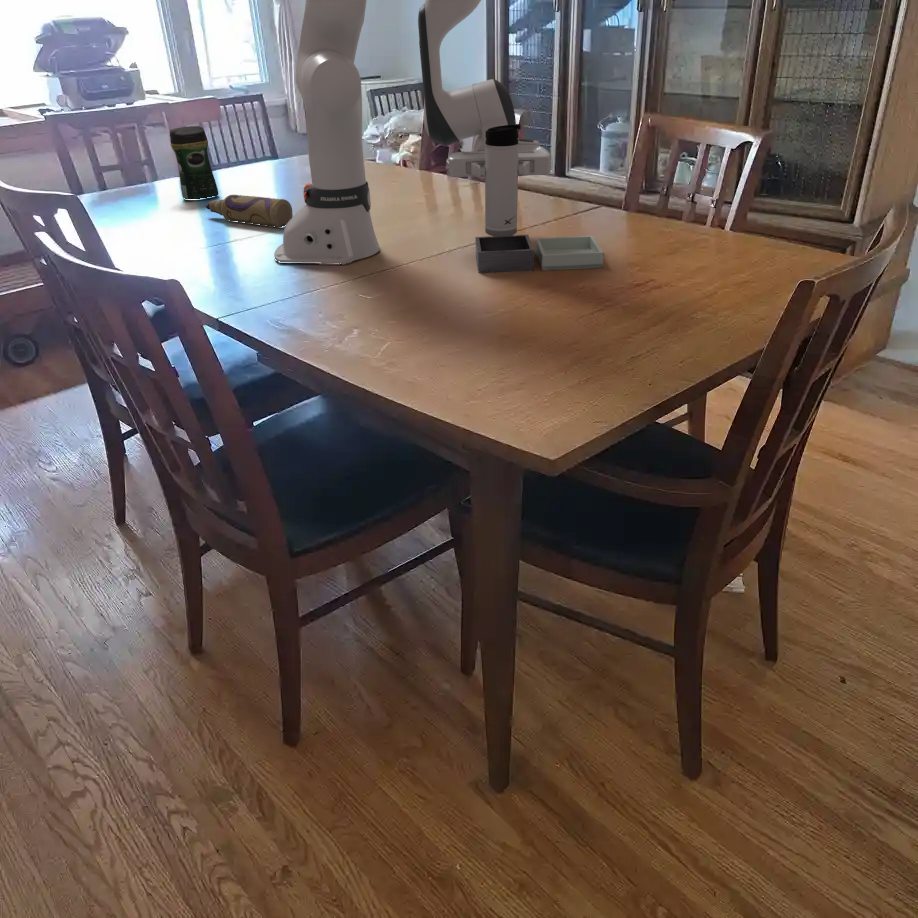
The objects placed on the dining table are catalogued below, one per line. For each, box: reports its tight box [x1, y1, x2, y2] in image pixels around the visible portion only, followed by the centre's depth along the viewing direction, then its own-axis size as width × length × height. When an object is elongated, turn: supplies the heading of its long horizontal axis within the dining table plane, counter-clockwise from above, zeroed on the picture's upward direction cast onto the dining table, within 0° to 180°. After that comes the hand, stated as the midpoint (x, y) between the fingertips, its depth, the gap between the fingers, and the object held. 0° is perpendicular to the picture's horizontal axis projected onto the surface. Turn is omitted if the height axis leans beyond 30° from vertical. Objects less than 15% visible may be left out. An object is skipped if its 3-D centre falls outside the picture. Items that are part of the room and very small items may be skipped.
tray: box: [534, 235, 604, 272], centre depth 160 cm, size 12×12×3 cm
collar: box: [474, 234, 535, 274], centre depth 160 cm, size 11×11×4 cm
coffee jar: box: [169, 125, 220, 200], centre depth 216 cm, size 10×8×19 cm
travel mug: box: [484, 123, 522, 237], centre depth 152 cm, size 6×7×20 cm
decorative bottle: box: [205, 194, 294, 228], centre depth 195 cm, size 26×8×7 cm, turn 59°
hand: (502, 172), depth 150 cm, fingers closed on travel mug, 6 cm apart
